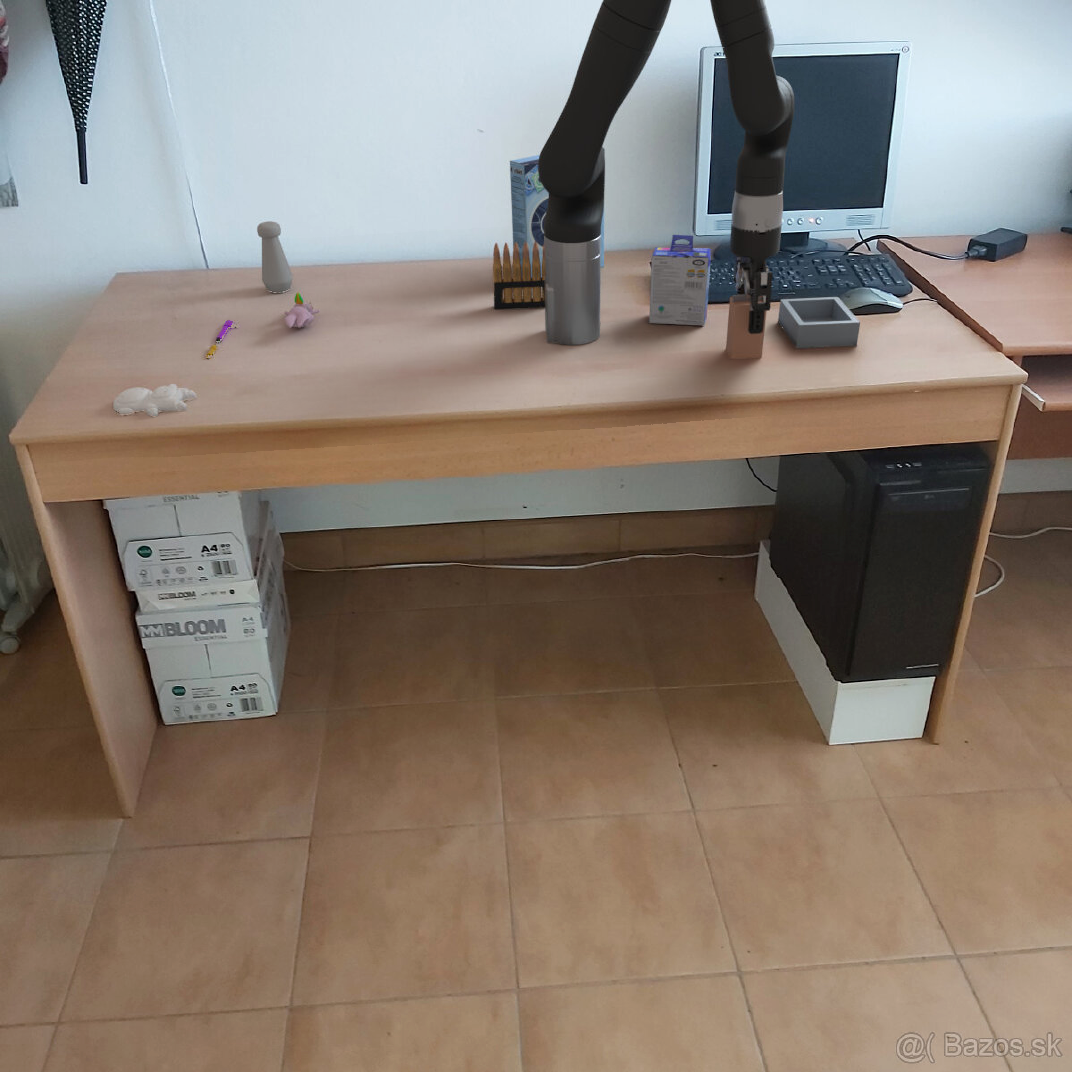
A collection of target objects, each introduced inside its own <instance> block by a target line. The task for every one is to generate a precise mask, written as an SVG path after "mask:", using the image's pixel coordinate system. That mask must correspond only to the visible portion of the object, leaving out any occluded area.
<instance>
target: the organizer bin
mask: <svg viewBox="0 0 1072 1072" xmlns="http://www.w3.org/2000/svg"><path fill="white" fill-rule="evenodd" d="M777 323H780V324H779V325H780V326H781V328H782V327H783V328H782V330H783V331H784V332H785V334H786V335H787V337H788V336H789V337H788V338H789V339H790V341H791V342H792V344H793V345H794V347H795V348H796V349H810V348H811V347H814V348H831V346H832V347H833V346H835V347H855V346H858V339H859V333H860V326H861V321H860V320H859V319H858V318H857V316H855V315H854V313H853V312H852V311H851V310H850V309H849V308H848V307H847V305H846V304H845V303H844V302H843V301H842V300H841V299H840V297H838V296H828V297H827V296H826V297H806V298H804V297H803V298H783V299H780V301H779V310H778V318H777Z"/></svg>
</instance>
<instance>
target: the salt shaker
mask: <svg viewBox="0 0 1072 1072" xmlns="http://www.w3.org/2000/svg"><path fill="white" fill-rule="evenodd" d="M281 229H282V228H281V226H280V224H279V223H278V222H276V221H269V220H268V221H263V222H261V223H259V224H258V225H257V227H256V233H257V235H258V237H260V238H261V280H262V283H263V285H264V286H265V288H266V290H267V291H268V290H269V291H272V292H283V291H286V290H288V289H290V290H291V288H292V287H291V286H292V283H293V278H294V277H293V274H292V271H291V268H290V265H289V262H288V260H287V258H286V255H285V254H286V253H285V252H284V249H283V246H282V244H281V242H280V239H279V236H281V233H282V232H281V231H282V230H281ZM269 291H268V292H269Z"/></svg>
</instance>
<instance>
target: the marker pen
mask: <svg viewBox="0 0 1072 1072" xmlns="http://www.w3.org/2000/svg"><path fill="white" fill-rule="evenodd" d="M232 323H234V321H233V320H230V319H228V320H225V322H224V324H223V325H222V328H221V330H220V332H219V333H218V335H217V337H216V339H215V342H216V341H220V339H222V336H223V335H224V334H225V332H226V330H227V328H228V327H231V325H232ZM217 347H218V346H217V345H215V344H211V345H210V347H209V350H208V351H207V353H206V357H205V359H206V358H207V357H208V355H209V356H210V355H212V354H213V352H214V351H215V350H216V348H217ZM215 352H216V351H215Z"/></svg>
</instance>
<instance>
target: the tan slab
mask: <svg viewBox="0 0 1072 1072" xmlns="http://www.w3.org/2000/svg"><path fill="white" fill-rule="evenodd" d="M758 303H762V301H761V297H760V296H759V297H758ZM728 306H729V308H728V316H727V317H728V319H727V332H726V341H725V342H726V343H725V351H726V353H727V354H728V356H729V358H730V359H731V360H737V359H738V360H739V359H740V360H741V359H758V358H759V359H760V358H763V348H764V338H765V329H766V320H767V311H765V313H764V325H763V332H762V333H759V334H750V333H749V331H748V324H749V310H750V309H749V298H748V297H746V296H745V294H742V295H737V294H732V296H730V297H729V304H728Z"/></svg>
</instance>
